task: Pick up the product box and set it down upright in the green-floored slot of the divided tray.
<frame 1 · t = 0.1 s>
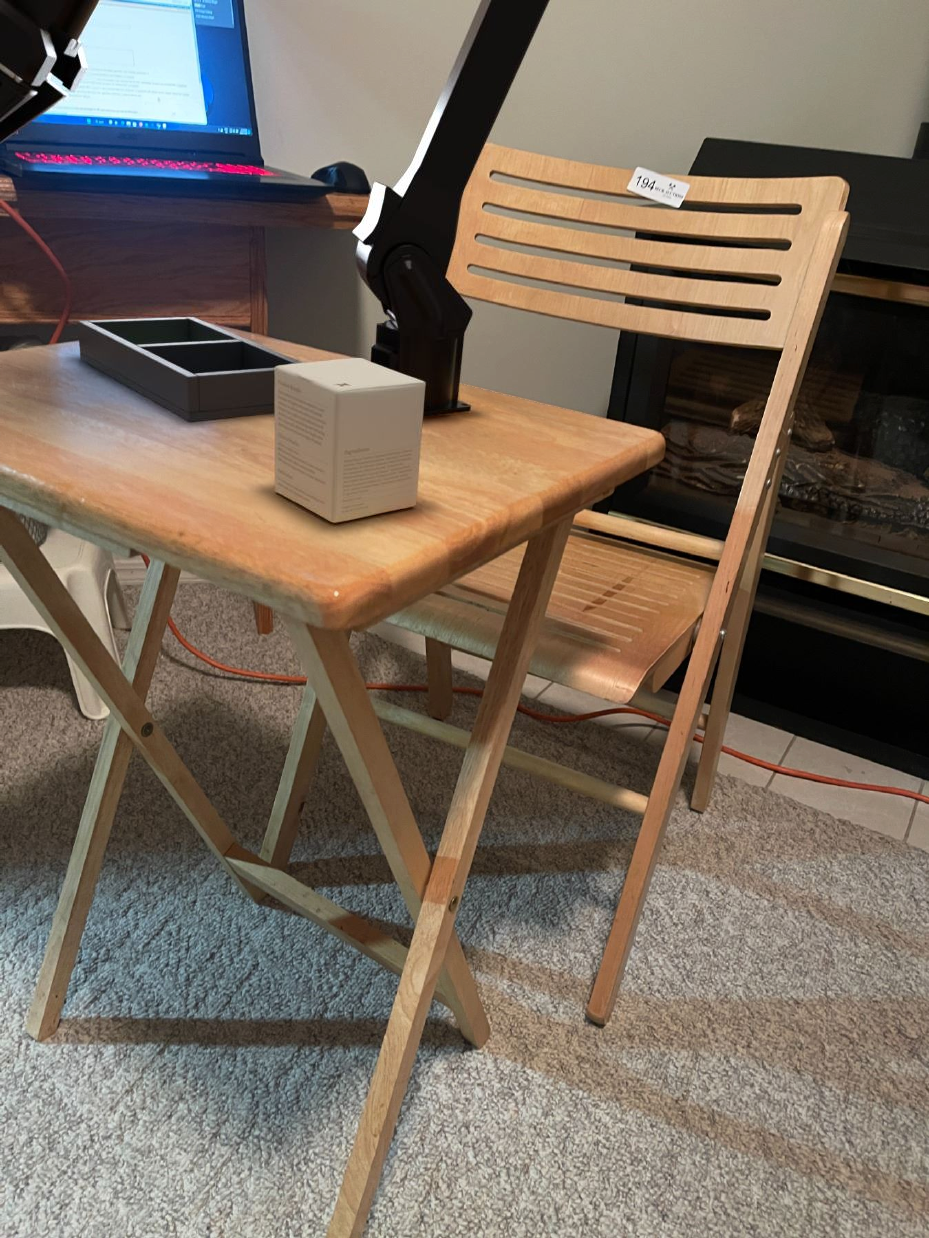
divided tray: (192, 383, 74), on the table
product box: (344, 503, 54), on the table
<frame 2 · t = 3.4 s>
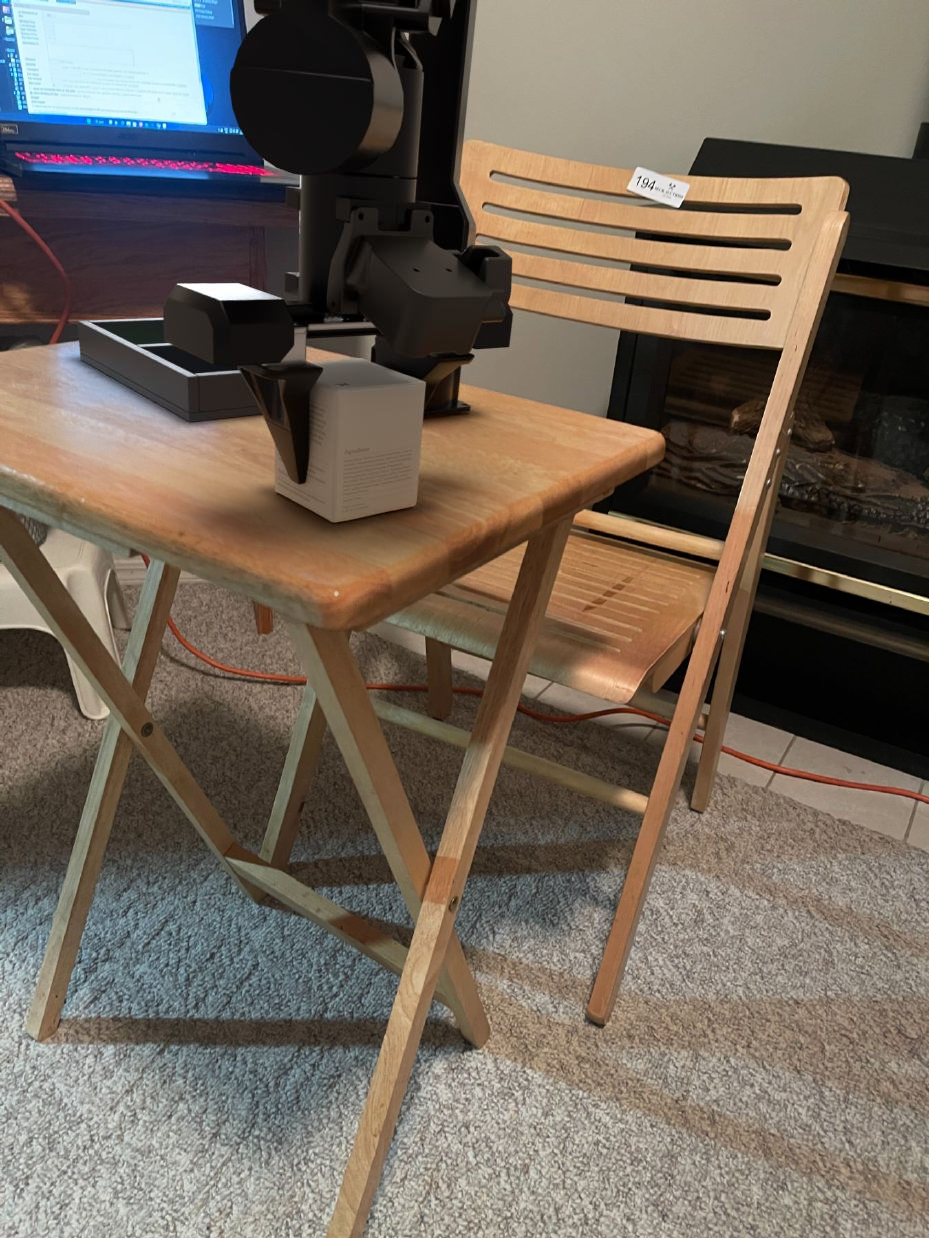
hand: (345, 474, 53), 2 cm above the table, tool pointing down, fingers closed on product box, 6 cm apart
product box: (345, 503, 54), on the table, touching gripper
when the fingers open (2 cm above the table, at t = 10.4 s): product box stays where it is, resting on divided tray.
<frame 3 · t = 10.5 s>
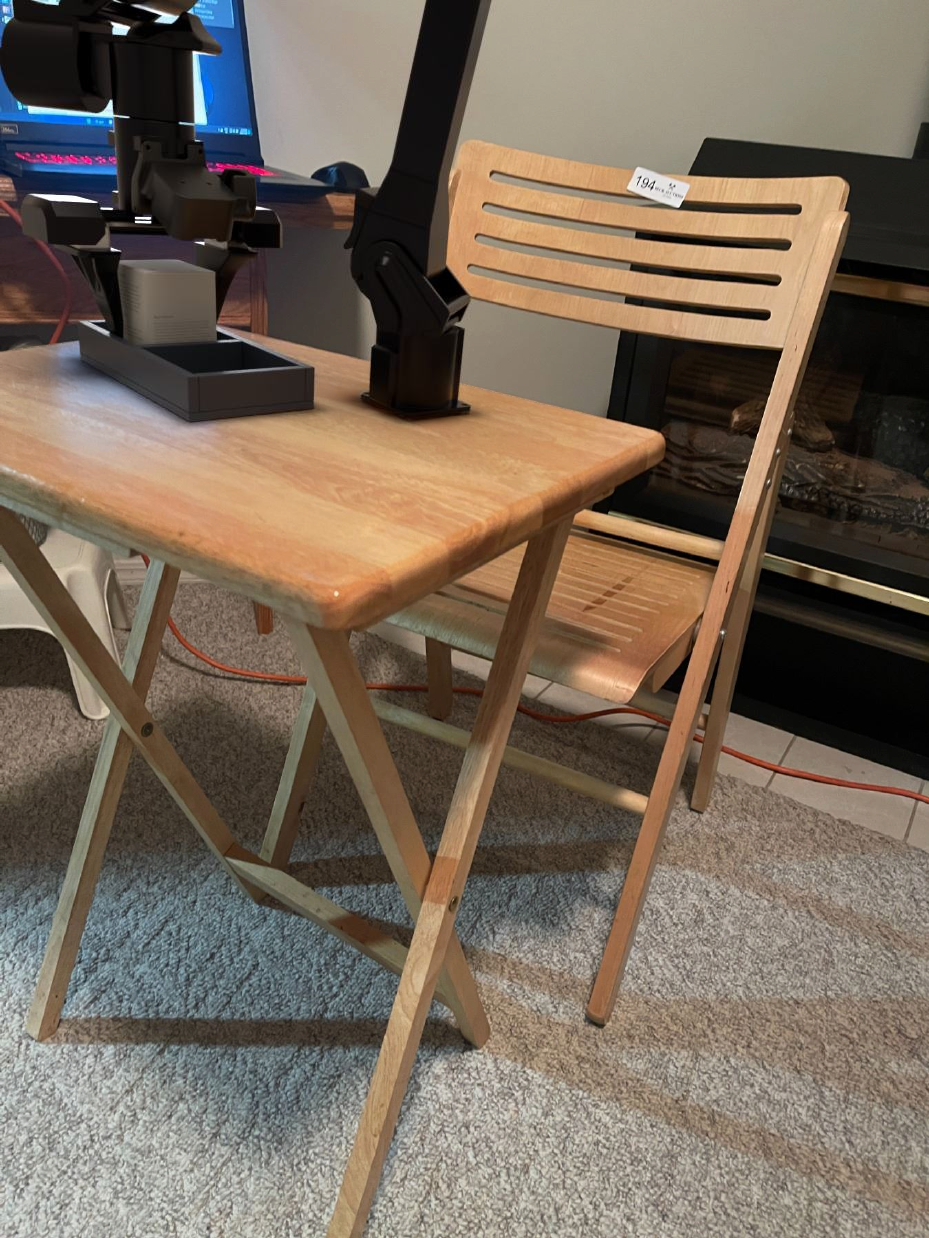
hand: (164, 338, 76), 3 cm above the table, tool pointing down, fingers open, 7 cm apart
product box: (167, 362, 77), point 1 cm above the table, touching divided tray
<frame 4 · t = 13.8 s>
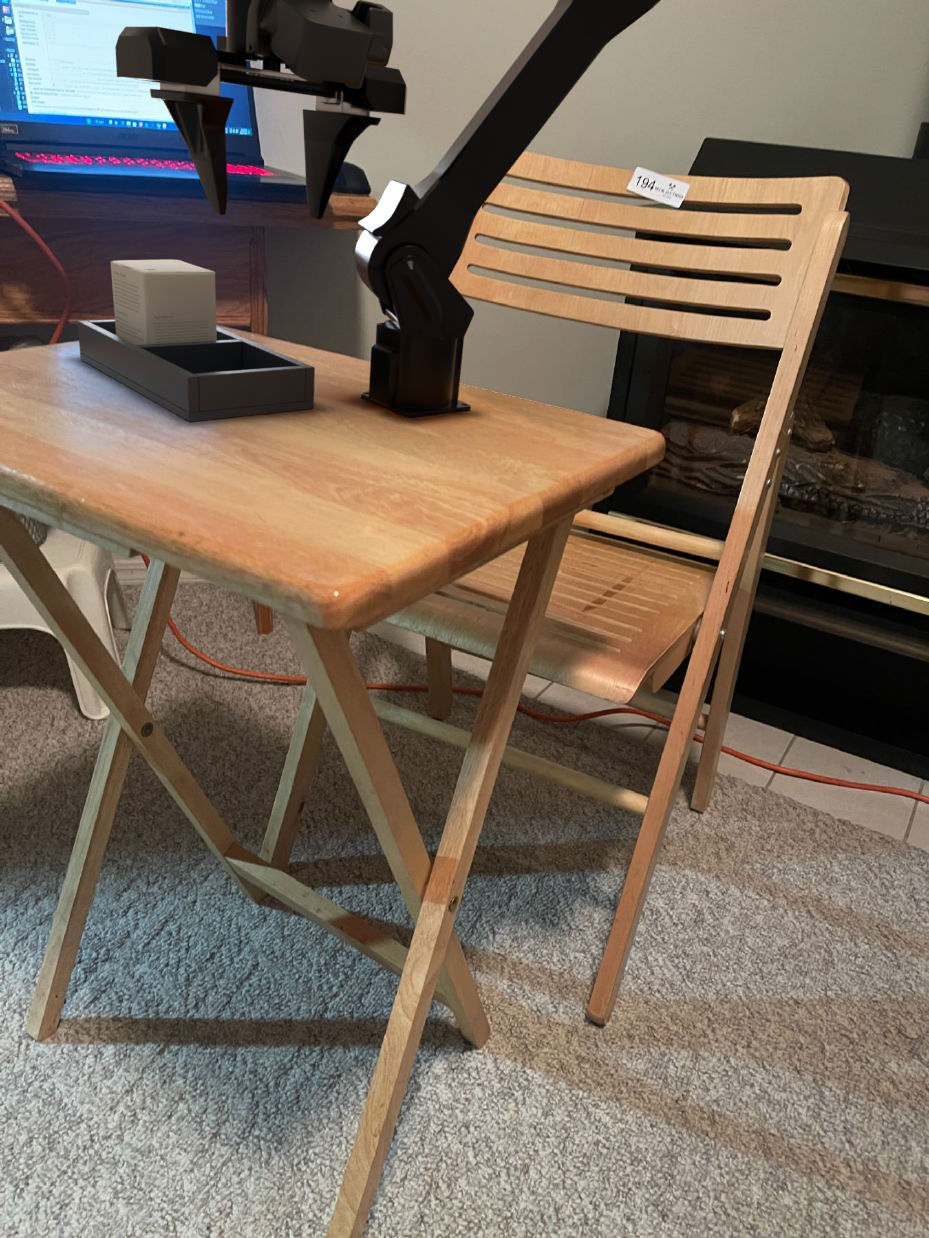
hand: (269, 217, 65), 13 cm above the table, tool pointing down, fingers open, 7 cm apart
nothing on the table moved.
at the end: product box 0.1 cm from the target spot in the divided tray, point 0.6 cm above the divided tray's base; product box tilted 0° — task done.
